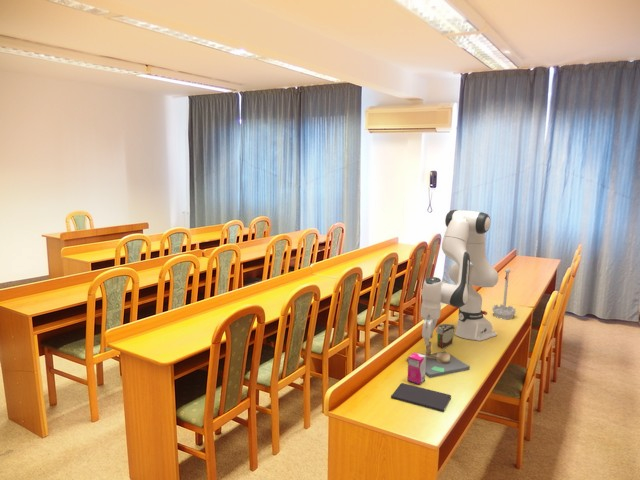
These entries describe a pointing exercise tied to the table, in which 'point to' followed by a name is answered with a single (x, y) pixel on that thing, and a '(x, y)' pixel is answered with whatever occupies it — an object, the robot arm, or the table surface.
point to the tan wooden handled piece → (441, 357)
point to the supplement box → (416, 368)
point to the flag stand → (504, 303)
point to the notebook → (421, 397)
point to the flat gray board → (443, 366)
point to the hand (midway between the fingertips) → (428, 340)
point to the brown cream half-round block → (445, 335)
